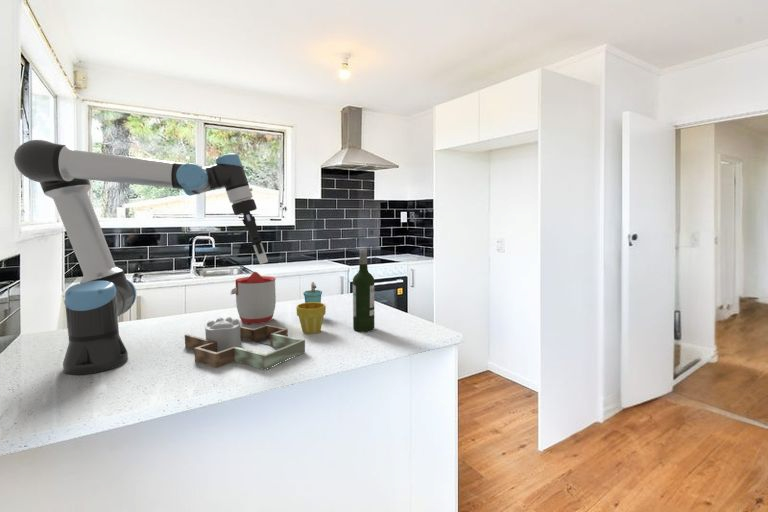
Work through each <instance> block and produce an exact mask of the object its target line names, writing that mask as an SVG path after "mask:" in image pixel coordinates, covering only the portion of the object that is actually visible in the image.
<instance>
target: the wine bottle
mask: <svg viewBox="0 0 768 512" xmlns="http://www.w3.org/2000/svg"><path fill="white" fill-rule="evenodd" d="M352 315H353V316H352V320H353V321H352V323H353V324H352V329H353V330H354V331H355V332H357V331H358V332H357V333H369V332H368V331H370V332H373V331H374V330H375V277H374V276H373V275H372V274H371V273H370V272H369V270H368V249H367V248H359V269H358V272H357V273H356V274H355V275H354V276H353V277H352Z"/></svg>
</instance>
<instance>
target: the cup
mask: <svg viewBox="0 0 768 512" xmlns="http://www.w3.org/2000/svg"><path fill="white" fill-rule="evenodd" d="M316 288H317V285H316V283H315V282H314V281H311V289H310V290H305V291H304V292H303V296H304V297H303V298H304V303H307V302H319V303H322V295H323V291H322V290H319V289H316Z"/></svg>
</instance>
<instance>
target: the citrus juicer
mask: <svg viewBox="0 0 768 512" xmlns="http://www.w3.org/2000/svg"><path fill="white" fill-rule="evenodd" d="M230 295H231V296H233V295H235V299H236V300H235V302H236V304H235V305H236V310H237V314H238V315H239V316H238V317H239V319H240V322H242V323H243V324H247V325H252V324H253V325H255V324H256V325H257V324H263V323H268V322H270V321H271V320H272V319H273V318H274V314H275V309H276V303H277V302H276V300H277V299H276V297H277V296H276V277H274V276H269V275H268V276H266V275H263V276H262V275H260V273H259V272H257V271H253V273H251V274H250V276H244V277H243V276H242V277H239V278H236V279H235V287H234V288H232V289H231V290H230Z"/></svg>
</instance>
